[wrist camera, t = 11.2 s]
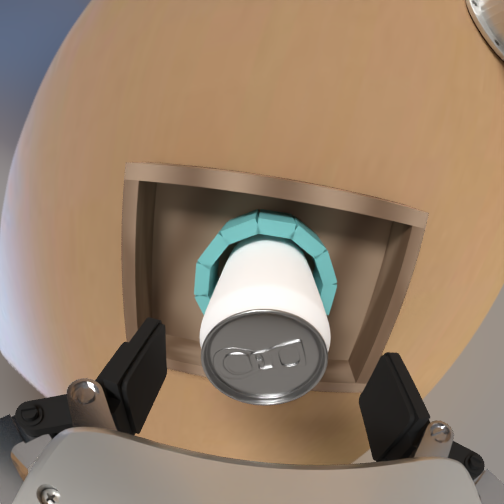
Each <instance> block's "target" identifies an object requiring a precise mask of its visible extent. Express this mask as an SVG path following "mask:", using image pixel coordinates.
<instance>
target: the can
mask: <svg viewBox="0 0 504 504" xmlns="http://www.w3.org/2000/svg"><path fill="white" fill-rule="evenodd" d="M330 340H331V334H330V327H329V322H328V319H327V315H326V312H325V309H324V306H323V303H322V300H321V298H320V295H319V292H318V289H317V286H316V284H315V281H314V278H313V275H312V273H311V270H310V267H309V265H308V262H307V260H306V257H305V255H304V253H303V251H302V250H301V248H300V247H299V246H298V244H296V243H295V242H294V241H293V240H292V239H289V238H283V237H276V236H270V235H264V234H256V235H254V236H251V237H248V238H245V239H243V240H241V241H240V242H239V243H238V244H237V245H236V246H235V247H234V249H233V250H232V252H231V254H230V256H229V258H228V260H227V262H226V264H225V267H224V269H223V271H222V274H221V276H220V278H219V281H218V283H217V285H216V287H215V290H214V292H213V295H212V297H211V299H210V302H209V304H208V307H207V309H206V312H205V314H204V317H203V320H202V323H201V328H200V346H201V364H202V368H203V370H204V373H205V375H206V376H207V378H208V379H209V381H210V382H211V383H212V384H213V385H214V386H215V387H216V388H217V389H218V390H219V391H221V392H222V393H223V394H225V395H227V396H228V397H230V398H233V399H235V400H237V401H240V402H244V403H248V404H253V405H276V404H282V403H286V402H289V401H292V400H295V399H297V398H299V397H301V396H303V395H305V394H306V393H308V392H309V391H310V390H311V389H313V388H314V387H315V386H316V385H317V384H318V382H319V381H320V380H321V378H322V377H323V375H324V373H325V370H326V367H327V363H328V351H329V347H330Z"/></svg>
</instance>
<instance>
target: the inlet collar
mask: <svg viewBox="0 0 504 504" xmlns="http://www.w3.org/2000/svg"><path fill="white" fill-rule="evenodd" d="M256 234H264V235H270V236H276V237H283V238H289V239H292V240H293V241H294V242H295V243H296V244H298V245H299V246H300V247H301V248H303V249H304V250H305V251H306V252H307V253H309V254H310V255H311V256H312V259H313V262H314V265H315V267H314V271H313V278H314V281H315V284H316V286H317V289H318V292H319V295H320V298H321V300H322V303H323V306H324V309H325V312H326V315H329V313H330V309H331V306H332V302H333V299H334V296H335V292H336V288H337V284H336V283H337V280H336V276H335V273H334V269H333V266H332V263H331V260H330V256H329V253H328V251H327V249H326V248H325V246H324V245H323V243H322V242H321V240H320V239H319V237H318V236H317V234H316V233H314V232H313V231H312V230H311V229H310V228H309V227H307V226H306V225H305V224H304V223H303V222H301V221H300V220H299V219H298V218H297V217H295V216H294V215H293V216H292V215H291V214H289V213H283V212H277V211H271V210H265V209H260V213H259V211H258V209H257V210H254V211H251V212H249V213H246V214H244V215H241V216H238V217H236V218H233V219H231V220H229V221H228V222H226V224H225V225H224V226H223V227H222V229H221V230H220V231H219V233H218V234H217V235H216V236H215V238H214V239H213V240H212V242H211V243H210V244H209V246H208V247H207V248H206V250H205V251H204V252H203V254H202V255H201V256H200V258H199V259H198V260H197V261H198V262H197V263H196V273H195V287H194V295H196V296H195V299H196V301H197V303H198V305H199V307H200V309H201V311H202V313H203V315H204V314H205V312H206V309H207V307H208V304H209V302H210V299H211V297H212V295H213V292H214V290H215V287H216V285H217V283H218V281H219V277H218V275H217V274H218V265H219V256H220V255H221V254H222V253H223V251H224V250H225V249H226V247H227V246H228V245H229V244H232V243H235V242H237V241H240V240H243V239H245V238H248V237H251V236H254V235H256Z"/></svg>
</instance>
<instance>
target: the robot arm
mask: <svg viewBox="0 0 504 504" xmlns="http://www.w3.org/2000/svg"><path fill="white" fill-rule="evenodd" d="M466 4H467V7H468V10H469V12H470V14H471V16H472V19H473V21H474V22H475V24H476V26H477V28H478V29H479V31H480V32H481V34H482V35H483V37H484V38H485V40H486V41H487V42H488V44H489V45H490V46H491V47H492V49H493V50H494V51H495V52H496V53H497V55H498V56H499V57H500V58H501V59H502V60H503V61H504V0H466ZM166 374H167V360H166V331H165V325H164V324H162V322H161V320H158V319H154V318H150V317H148V318H147V319H146V320H145V321H144V323H143V324H142V325H141V327H140V328H139V329H138V331H137V332H136V333H135V335H134V336H133V337H132V339H131V340H130V341H129V342H124V343H123V344H122V345H121V346H120V347H119V349H118V350H117V351H116V353H115V354H114V355H113V357H112V358H111V360H110V361H109V362H108V364H107V365H106V366H105V368H104V369H103V370H102V372H101V373H100V375H99V376H98V377H97V379H96V380H95V381H94V380H92V379H87V378H86V379H78V380H76V381H74V382H72V383H71V384H70V385H69V387H68V389H67V394H65V395H60V396H55V397H49V398H44V399H38V400H32V401H27V402H24V403H22V404H21V405H20V406H19V407H18V408H17V410H16V413H15V415H14V416H12V417H11V415H10V414H9V415H7V416H5V417H2V418H0V502H1V504H504V484H503V483H502V482H501V481H500V480H499V479H498V478H497V477H496V476H495V475H494V474H492V473H491V472H490V471H489V470H488V469H486V470H484V461H483V459H482V457H481V456H480V455H478V454H477V453H475V452H473V451H471V450H470V449H468V448H466V447H464V446H462V445H460V444H458V443H456V442H454V441H453V439H454V433H453V430H452V429H451V427H450V426H449V425H448V424H446V423H445V422H442V421H432V422H431V423H430V421H429V418H430V415H429V413H428V411H427V409H426V407H425V405H424V402H423V400H422V398H421V396H420V394H419V392H418V390H417V388H416V386H415V384H414V382H413V380H412V378H411V376H410V374H409V372H408V370H407V368H406V366H405V364H404V363H403V361H402V359H401V357H400V355H399V354H398V353H389V352H387V353H385V354H384V355H382V356H381V357H380V359H379V361H378V363H377V365H376V367H375V369H374V371H373V373H372V375H371V377H370V379H369V381H368V382H367V384H366V386H365V388H364V390H363V392H362V394H361V395H360V398H359V405H360V409H361V413H362V416H363V420H364V424H365V428H366V432H367V436H368V440H369V444H370V448H371V452H372V457H373V459H374V460H375V461H376V462H372V463H360V464H344V465H294V464H277V463H265V462H255V461H247V460H240V459H233V458H226V457H220V456H215V455H209V454H204V453H200V452H195V451H191V450H186V449H182V448H178V447H174V446H170V445H166V444H162V443H159V442H155V441H152V440H148V439H145V438H141V437H137V436H134V435H135V433H137V434H139V433H140V431H141V429H142V427H143V425H144V423H145V420H146V418H147V416H148V414H149V412H150V410H151V407H152V405H153V403H154V401H155V399H156V397H157V395H158V392H159V390H160V388H161V386H162V384H163V382H164V380H165V377H166ZM37 457H38V458H37ZM35 461H36V462H35ZM33 462H35V463H34V465H33V466H32V468H31V470H30V471H29V473H28V468H29V466H30V465H31V464H32V463H33Z"/></svg>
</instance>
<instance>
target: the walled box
mask: <svg viewBox="0 0 504 504" xmlns="http://www.w3.org/2000/svg"><path fill="white" fill-rule="evenodd" d="M257 209H258V211H259V213H260V209H265V210H271V211H277V212H283V213H289V214H291V215H292V216H293V215H294V216H295V217H297V218H298V219H299V220H300V221H301V222H303V223H304V224H305V225H306V226H307V227H309V228H310V229H311V230H312V231H313V232H314V233H316V234H317V236H318V237H319V239H320V240H321V242H322V243H323V245H324V246H325V248H326V249H327V251H328V253H329V256H330V260H331V263H332V266H333V269H334V273H335V276H336V280H337V283H336V284H337V288H336V292H335V296H334V299H333V302H332V306H331V309H330V313H329V315H327V319H328V322H329V327H330V334H331V340H330V347H329V351H328V363H327V367H326V370H325V373H324V375H323V377H322V378H321V380H320V381H319V382H318V384H317V385H316V386H315V387H314V388H313V389H311V390H310V391H324V392H363V390H364V388H365V386H366V384H367V382H368V381H369V379H370V377H371V375H372V373H373V371H374V369H375V367H376V365H377V363H378V361H379V359H380V357H381V354H382V352H383V350H384V348H385V346H386V343H387V341H388V339H389V336H390V334H391V332H392V329H393V327H394V324H395V322H396V319H397V317H398V314H399V311H400V309H401V306H402V303H403V301H404V298H405V295H406V292H407V289H408V286H409V283H410V280H411V277H412V274H413V271H414V268H415V264H416V261H417V258H418V254H419V251H420V247H421V243H422V239H423V235H424V231H425V227H426V223H427V219H428V214H429V213H427V212H424V211H421V210H419V209H416V208H413V207H410V206H407V205H404V204H400V203H397V202H393V201H389V200H385V199H381V198H377V197H373V196H369V195H364V194H360V193H356V192H351V191H347V190H342V189H337V188H333V187H328V186H323V185H318V184H313V183H307V182H302V181H296V180H291V179H285V178H279V177H273V176H267V175H260V174H254V173H247V172H239V171H232V170H224V169H216V168H207V167H198V166H188V165H178V164H166V163H152V162H136V163H126V167H125V178H124V191H123V208H122V287H123V304H124V318H125V329H126V338H127V342H129V341H130V340H131V339H132V337H133V336H134V335H135V333H136V332H137V331H138V329H139V328H140V327H141V325H142V324H143V323H144V321H145V320H146V319H147V318H148V317H150V318H154V319H158V320H161V322H162V324H164V325H165V331H166V360H167V368H168V369H172V370H176V371H180V372H185V373H189V374H194V375H199V376H204V377H207V376H206V375H205V373H204V370H203V368H202V364H201V346H200V328H201V323H202V320H203V317H204V315H203V313H202V311H201V309H200V307H199V305H198V303H197V301H196V299H195V296H196V295H194V287H195V273H196V263H197V262H198V261H197V260H198V259H199V258H200V256H201V255H202V254H203V252H204V251H205V250H206V248H207V247H208V246H209V244H210V243H211V242H212V240H213V239H214V238H215V236H216V235H217V234H218V233H219V231H220V230H221V229H222V227H223V226H224V225H225V224H226V222H228V221H229V220H231V219H233V218H236V217H238V216H241V215H244V214H246V213H249V212H251V211H254V210H257ZM240 241H241V240H240ZM240 241H237V242H235V243H232V244H229V245H228V246H227V247H226V249H225V250H224V251H223V253H222V254H221V255H220V256H219V265H218V274H217V275H218V277H219V278H220V276H221V274H222V271H223V269H224V267H225V264H226V262H227V260H228V258H229V256H230V254H231V252H232V250H233V249H234V247H235V246H236V245H237V244H238V243H239V242H240ZM298 246H299V245H298ZM299 247H300V246H299ZM300 248H301V247H300ZM301 250H302V251H303V253H304V255H305V257H306V260H307V262H308V265H309V267H310V270H311V273H312V275H313V271H314V267H315V265H314V262H313V259H312V256H311V255H310V254H309V253H307V252H306V251H305V250H304V249H303V248H301Z"/></svg>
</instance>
